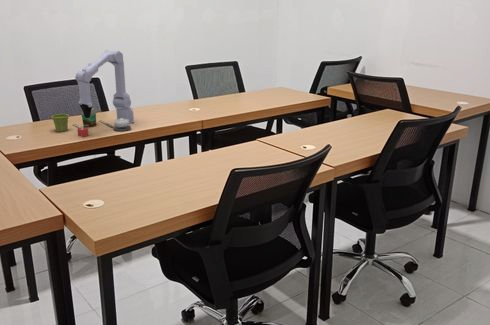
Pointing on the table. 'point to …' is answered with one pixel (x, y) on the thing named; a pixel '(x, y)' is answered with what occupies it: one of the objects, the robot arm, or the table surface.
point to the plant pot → (60, 122)
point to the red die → (82, 132)
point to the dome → (121, 122)
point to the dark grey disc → (122, 129)
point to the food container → (92, 120)
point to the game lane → (99, 121)
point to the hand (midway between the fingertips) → (87, 117)
